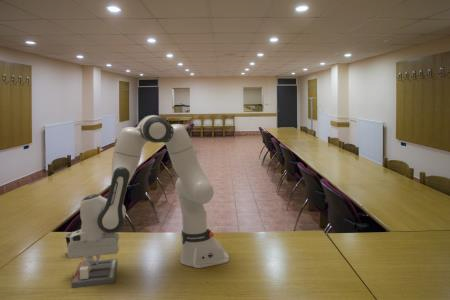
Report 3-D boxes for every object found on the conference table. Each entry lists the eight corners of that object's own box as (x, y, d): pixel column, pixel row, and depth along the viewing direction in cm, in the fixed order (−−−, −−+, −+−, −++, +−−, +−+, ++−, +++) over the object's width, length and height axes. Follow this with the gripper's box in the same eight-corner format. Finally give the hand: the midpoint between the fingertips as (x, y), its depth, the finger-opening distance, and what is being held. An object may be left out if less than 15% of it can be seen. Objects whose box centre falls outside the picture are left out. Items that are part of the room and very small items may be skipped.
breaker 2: (93, 261, 162) (93, 252, 162) (92, 264, 159) (92, 255, 159) (86, 262, 162) (85, 253, 161) (85, 264, 159) (84, 256, 158)
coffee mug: (67, 252, 179) (65, 232, 178) (85, 249, 182) (84, 230, 181) (65, 261, 169) (64, 240, 167) (85, 258, 172) (84, 238, 170)
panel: (117, 262, 166) (117, 258, 166) (114, 283, 147) (113, 278, 147) (80, 266, 163) (79, 262, 162) (71, 287, 143) (71, 282, 143)
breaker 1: (89, 275, 149) (88, 265, 148) (88, 278, 146) (87, 269, 145) (81, 276, 148) (80, 266, 148) (80, 279, 145) (79, 269, 145)
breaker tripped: (91, 268, 156) (90, 259, 155) (90, 271, 153) (89, 261, 152) (83, 268, 155) (83, 259, 154) (82, 271, 152) (82, 262, 152)
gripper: (119, 228, 158) (120, 259, 159) (68, 232, 153) (70, 264, 155) (118, 233, 152) (119, 265, 153) (65, 238, 147) (67, 270, 149)
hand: (94, 265), depth 154 cm, fingers closed
